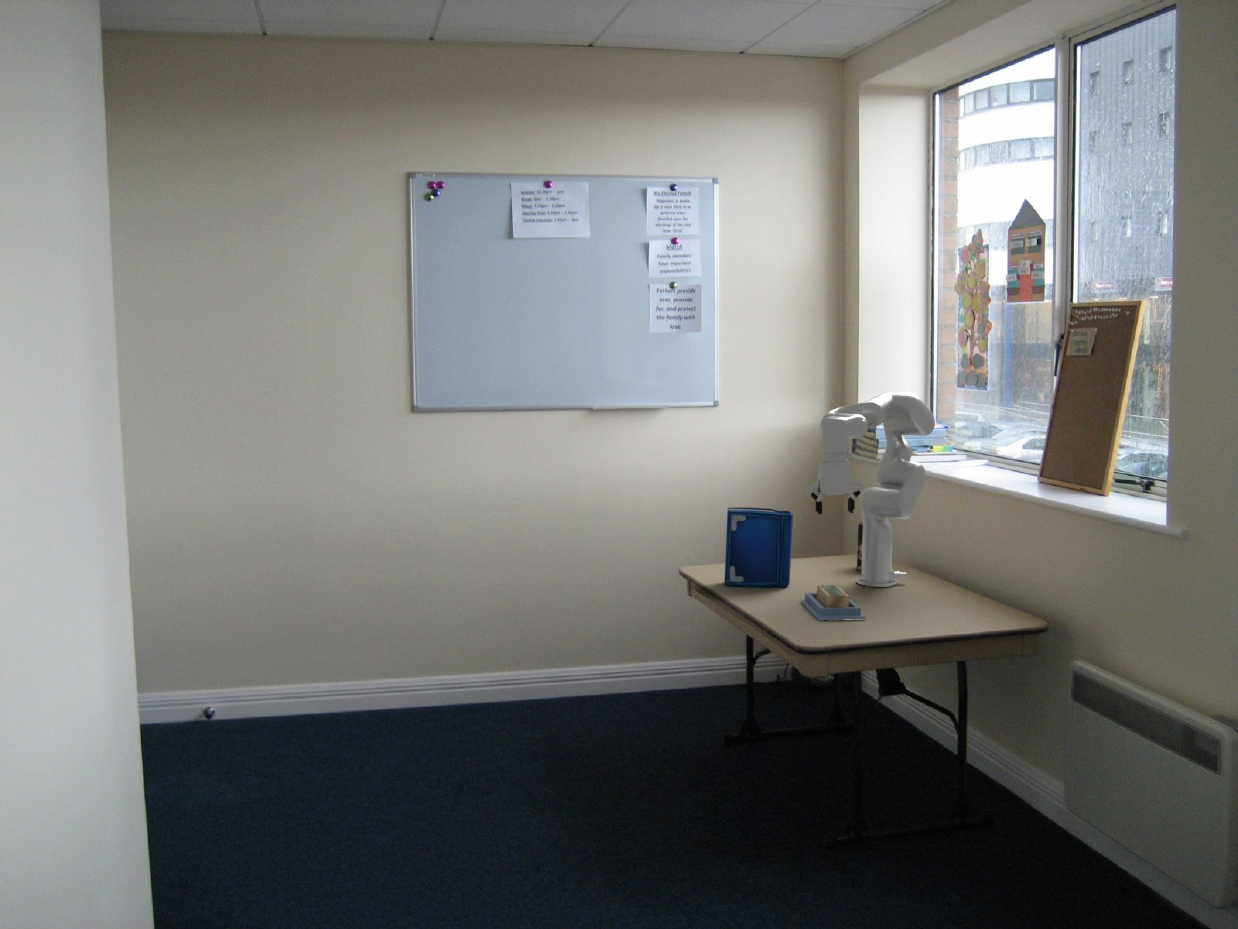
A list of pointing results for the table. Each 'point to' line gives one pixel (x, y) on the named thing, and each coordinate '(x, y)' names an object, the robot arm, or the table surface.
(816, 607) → the blue tray
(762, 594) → the table surface
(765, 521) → the book
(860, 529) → the coffee box
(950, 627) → the table surface
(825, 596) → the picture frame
